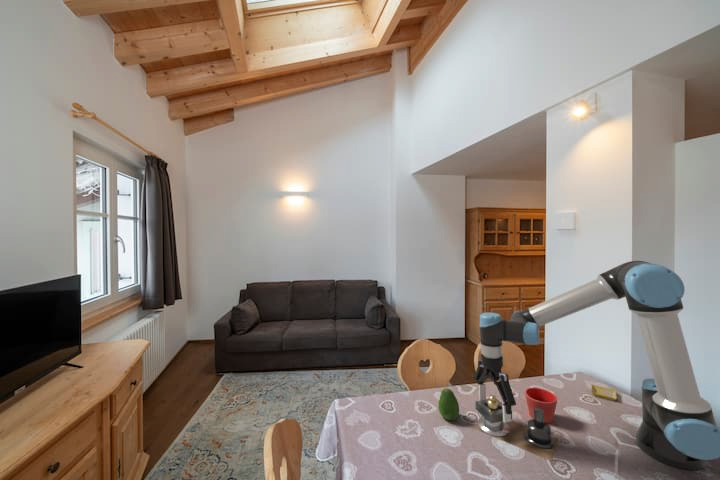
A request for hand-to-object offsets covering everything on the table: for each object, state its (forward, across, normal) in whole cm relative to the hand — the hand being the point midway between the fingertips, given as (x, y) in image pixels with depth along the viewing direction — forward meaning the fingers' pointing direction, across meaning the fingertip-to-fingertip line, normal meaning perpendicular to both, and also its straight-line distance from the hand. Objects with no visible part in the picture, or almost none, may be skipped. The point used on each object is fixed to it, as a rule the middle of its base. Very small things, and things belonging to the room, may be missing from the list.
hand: (494, 410), depth 109 cm
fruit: (+7, +10, +13) cm, 18 cm away
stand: (+7, -10, -10) cm, 16 cm away
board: (+7, -4, -5) cm, 10 cm away
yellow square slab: (+8, +6, -61) cm, 62 cm away
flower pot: (+8, 0, -22) cm, 23 cm away
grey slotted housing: (+1, 0, 0) cm, 1 cm away
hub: (+6, 0, 0) cm, 6 cm away
